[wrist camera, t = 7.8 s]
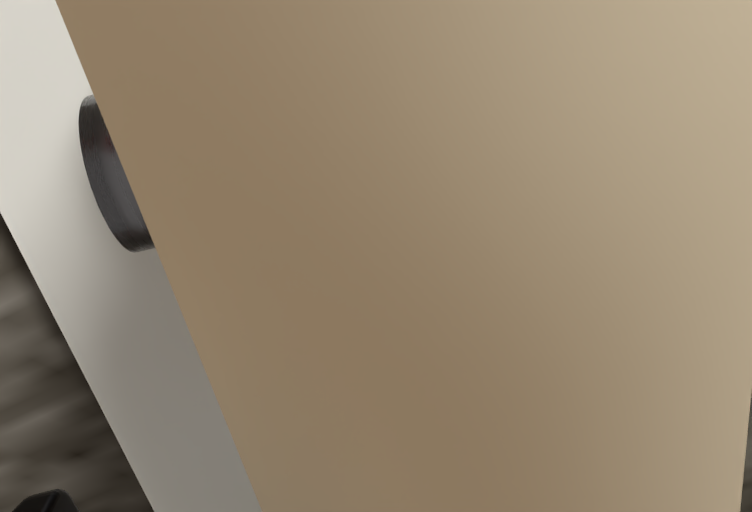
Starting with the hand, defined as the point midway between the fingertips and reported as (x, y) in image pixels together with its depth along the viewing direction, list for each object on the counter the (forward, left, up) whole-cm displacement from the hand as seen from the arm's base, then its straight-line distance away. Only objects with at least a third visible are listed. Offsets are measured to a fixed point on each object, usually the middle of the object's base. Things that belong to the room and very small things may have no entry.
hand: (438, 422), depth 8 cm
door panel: (0, 0, -5) cm, 5 cm away
